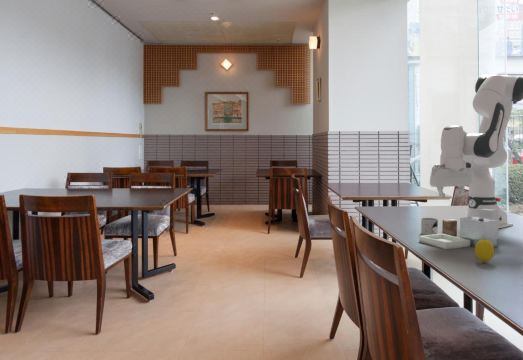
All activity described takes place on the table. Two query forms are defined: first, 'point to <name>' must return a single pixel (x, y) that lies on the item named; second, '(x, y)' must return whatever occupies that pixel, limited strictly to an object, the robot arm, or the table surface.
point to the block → (449, 227)
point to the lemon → (484, 250)
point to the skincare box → (490, 216)
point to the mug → (429, 226)
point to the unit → (478, 230)
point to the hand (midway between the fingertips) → (450, 197)
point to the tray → (444, 241)
